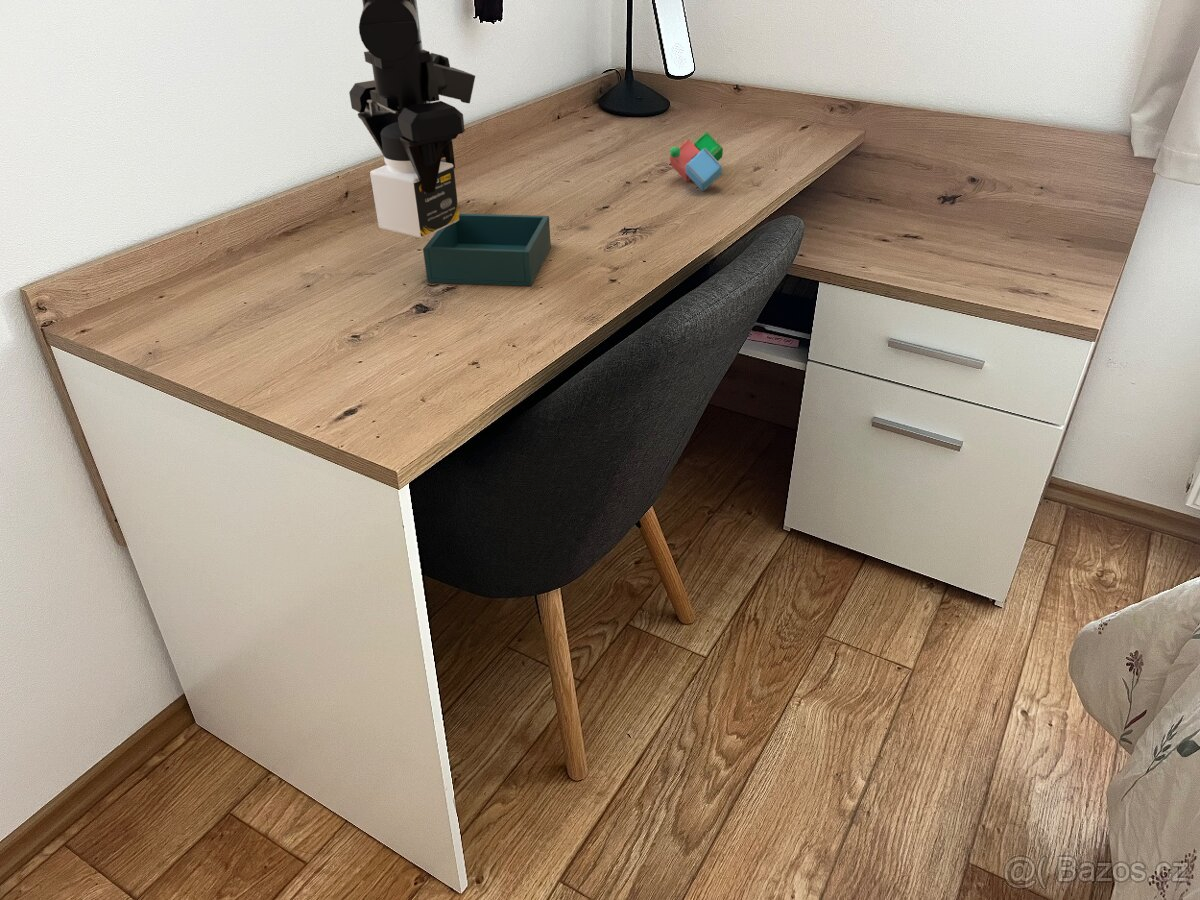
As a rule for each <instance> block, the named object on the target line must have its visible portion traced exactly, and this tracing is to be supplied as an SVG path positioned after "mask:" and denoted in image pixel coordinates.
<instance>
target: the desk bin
mask: <svg viewBox="0 0 1200 900" xmlns="http://www.w3.org/2000/svg"><path fill="white" fill-rule="evenodd" d="M551 243H552V242H551V225H550V216H549V215H534V214H533V215H532V214H531V215H529V214H493V213H492V214H491V213H459V221H458V222H455V223H453V224H451V225H449V226H447V227H445V228H443V229H441V230H439V231H437V232H435V233H434V235H432V237H430V240H429V241H427V242H426V244H425V245H424V247H423V248H422V250H423V258H424V267H425V272H426V273H425V274H426V281H427V283H432V284H433V283H434V284H435V283H437V284H461V285H462V284H463V285H486V286H488V285H489V286H490V285H492V286H514V287H515V286H517V287H532V285H533V283H534V281H535V279H536V277H537V275H538V274H539V272H540V269H541V268H542V266H543V264H544V262H545V260H546V258H547V256H548V255H549V252H550V250H551V248H552V244H551Z"/></svg>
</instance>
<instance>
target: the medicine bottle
mask: <svg viewBox="0 0 1200 900" xmlns="http://www.w3.org/2000/svg"><path fill="white" fill-rule="evenodd" d="M380 134H381V141H382V147H383V153H382V155H383V154H384V155H383V159H384V164H385V165H382V166H379V167H378V168H375V169H372V170H370V173H369V175H370V182H371V187H372V194H373V199H374V207H375V213H376V218H377V225H378V228H379V229H380V230H384V231H388V232H392V233H396V234H400V235H404V236H408V237H412V238H416V239H421V240H422V239H425V238H427V237H429V236H430V235H433V234H435V233H436V232H437V231H439V230H441V229H443V228H445V227H447V226H449V225H451V224H453V223H455V222H458V221H459V214H460V211H459V203H458V202H459V201H458V193H457V183H456V175H455V168H454V166H453V164H451V163H446V162H440V167H439V173H438V178H437V183H436V189H435V191H434V192H432V193H426V192H425V191H424V189H423V187H422V185H421V183H420V181H419V179H418V176H417V174H416V172H415V170H414V168H413V166H412V163H411V161H410V159H409V157H408V155H407V153H406V151H405V148H404V146H403V144H402V142H401V140H400V137H403V135H402V132H401V130H400V128H399V122H395V123H392V124H390V125H388V126H386V127H385V128H383V129H382V131H381V133H380Z"/></svg>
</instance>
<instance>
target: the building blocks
mask: <svg viewBox="0 0 1200 900" xmlns="http://www.w3.org/2000/svg"><path fill="white" fill-rule="evenodd" d="M723 151H724V148H723V146H722V145H721V144H720V143H719V142H718V141H717V140H716V139H715V137H713V136H712V134H710V132H708V131H705V132H703V133H702V134H701V135H700V136H699V137H698V138H697V139H695V141H693V142H692V141H691V140H690V139H686V140H685V141H684V142H683V143H682V144H681V145H680V146H679V147H678V146H672V147H671V148H670V150H669V162H670V163H669V164H670V166H671V167H672V168H673V169H674V170H675V172H677V173H678V175H679V176H680V177H681V178H682V179H683V180H684V181H685V182H689V181H690V180H691V181H692V182H693V183H694V184H695V186H696V187H698V188H699V189H700V191H703V192H704V191H706V190H707V189H708V188H709V187H710V186H712V184H713V183H715V182H716V180H718V179H719V178H720V177H721V176H722V174H723V173H722V172H723V165H722V164H721V163H720V160H721V159H722V158H723V153H724V152H723Z"/></svg>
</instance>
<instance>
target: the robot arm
mask: <svg viewBox="0 0 1200 900" xmlns="http://www.w3.org/2000/svg"><path fill="white" fill-rule="evenodd" d="M358 31H359V37H360V40H361V42H362V44H363V46H364V48H365V49H366V50H367V51H364V52H363V56H364V61H365V63H368V64H370V65H371V67H372V74H373V80H366V81H361V82H355V83H354V84H353V85H352V87H351V89H350V90H349V91H348V93H349V100H350V105H351V109H352V110H354V111H356V112H357V117H358V119H360V121H361V122H362V123H363V125H364V127H365V128H366V129H367V131H368V133H369V134H370V136H371V138H372V139H373V140H374V142H375V144H376V146H377V147H378V148H379V150H380V152H381V154H382V155H383V156H384V154H383V147H382V141H381V134H380V133H381V131H382V129H383V128H385V127H386V126H388V125H390V124H392V123H395V122H399V128H400V130H401V132H402V135H403V137H400V140H401V142H402V144H403V146H404V148H405V151H406V153H407V155H408V157H409V159H410V161H411V163H412V166H413V168H414V170H415V172H416V174H417V176H418V179H419V181H420V183H421V185H422V187H423V189H424V191H425V192H426V193H432V192H434V191H435V189H436V183H437V178H438V173H439V167H440V162H446V163H451V164H453V166H454V169H456V162H455V153H454V146H453V144H454V143H453V140H455V139H457V138H458V136H459V135H461V134H464V133H465V132H466V129H465V120H464V114H463V113H462V112H461V111H460V110H459V109H458V108H456V107H455V106H453V105H451V104H448V103H447V102H444V101H442V100H440V96H443V97H445V98H446V97H447V98H450V99H456V100H459V101H460V102H461V103H464V104H470V103H471V99H472V94H473V90H474V85H475V80H476V75H474V74H472V73H469V72H467V71H465V70H461V69H458V68H456V67H453V66H451V65H450V60H449V57H447V56H444V55H441V54H438V53H434V52H430V51H429V50H426V49H423V42H422V34H421V25H420V16H419V8H418V2H417V0H362V11H361V14H360V17H359V23H358Z"/></svg>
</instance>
